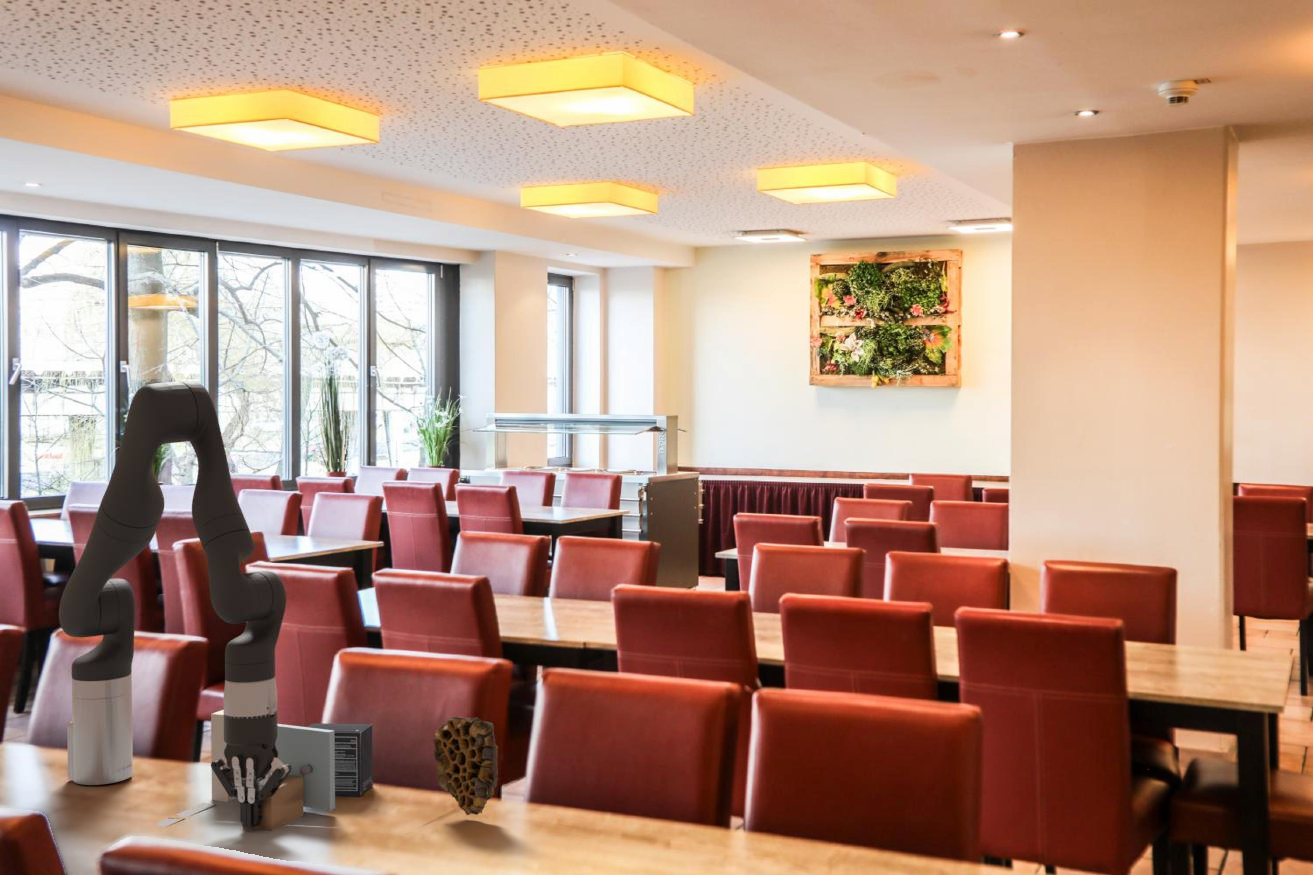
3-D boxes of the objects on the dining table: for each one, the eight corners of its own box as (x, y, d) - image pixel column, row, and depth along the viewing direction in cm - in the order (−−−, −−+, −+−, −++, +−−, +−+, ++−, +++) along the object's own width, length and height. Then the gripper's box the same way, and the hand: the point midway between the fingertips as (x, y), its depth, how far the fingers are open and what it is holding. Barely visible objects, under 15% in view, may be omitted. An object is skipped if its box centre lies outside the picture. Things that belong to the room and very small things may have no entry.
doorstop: (243, 828, 189) (242, 788, 189) (275, 812, 197) (275, 773, 196) (271, 831, 187) (271, 791, 187) (303, 815, 195) (303, 776, 195)
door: (324, 812, 193) (323, 734, 193) (231, 799, 200) (230, 723, 200) (335, 808, 195) (334, 730, 195) (242, 794, 202) (242, 719, 202)
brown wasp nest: (425, 815, 195) (425, 718, 194) (437, 807, 199) (437, 712, 198) (495, 821, 192) (494, 722, 191) (505, 813, 196) (505, 716, 195)
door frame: (114, 845, 182) (113, 747, 181) (254, 782, 213) (253, 698, 212) (131, 847, 181) (130, 749, 181) (269, 783, 212) (269, 700, 211)
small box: (374, 785, 211) (374, 722, 211) (361, 797, 204) (361, 732, 204) (313, 783, 212) (312, 721, 212) (298, 795, 205) (297, 730, 205)
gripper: (196, 711, 185) (197, 829, 186) (273, 717, 181) (274, 838, 181) (229, 700, 192) (230, 814, 193) (304, 706, 188) (304, 823, 188)
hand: (251, 825), depth 187 cm, fingers closed
